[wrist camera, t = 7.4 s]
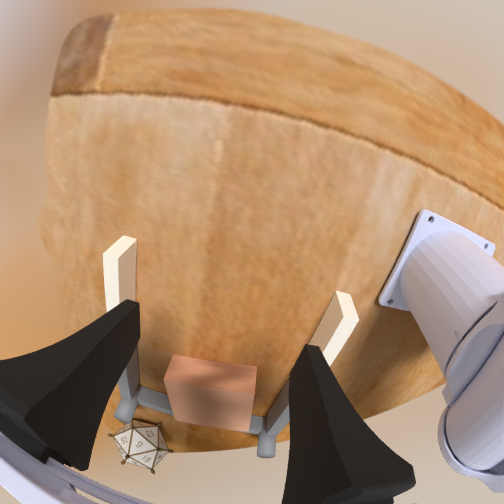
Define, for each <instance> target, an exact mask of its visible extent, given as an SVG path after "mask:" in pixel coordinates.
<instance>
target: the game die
mask: <svg viewBox="0 0 504 504" xmlns="http://www.w3.org/2000/svg"><path fill="white" fill-rule="evenodd" d="M161 425H162V422H159V423H158V425H153V424H149V423H145V422H141V421H137V420H133V419H132V420H131V423H130V424H125V425H124V426H123V427H122V428H121V429H120V430H119V431H118V432H116V433H115V434H114V435H112V434H108V436H110V437H113V438H114V440H115V443H116V445H117V447H118V449H119V451H120V453H121V455H122V458H123V461H122V462H121V464H124V463H125V462H128V463H131V464H134V465H137V466H141V467H144V468H148V469H151V472H152V473H153V474H155V471H154V470H153V468H154V467H155V466H156V465H157V464H158V462H159V461H160V460H161V459H162V458H163V457H164V456H165V455H166V454H167V452H171V453H172V452H174V451H173V450H171V449H170V450H169V449H168V447H167V445H166V443H165V440H164V438H163V436H162V433H161V431H160V428H159V426H161Z"/></svg>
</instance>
